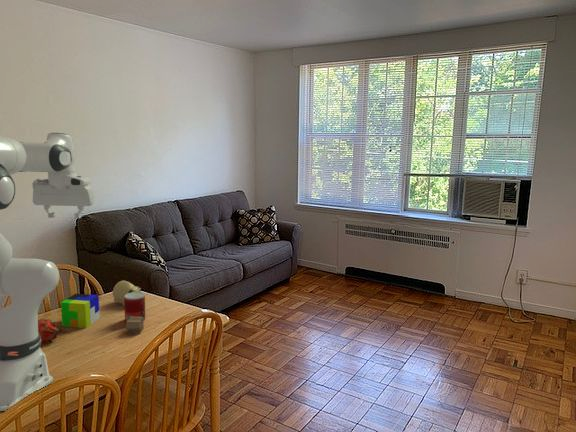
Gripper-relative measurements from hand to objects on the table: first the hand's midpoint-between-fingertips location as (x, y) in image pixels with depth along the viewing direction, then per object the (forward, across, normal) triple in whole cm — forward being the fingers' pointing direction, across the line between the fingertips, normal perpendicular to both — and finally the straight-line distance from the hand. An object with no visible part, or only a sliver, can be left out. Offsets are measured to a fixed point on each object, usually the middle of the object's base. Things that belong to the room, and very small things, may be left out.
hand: (64, 217), depth 157 cm
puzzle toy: (+46, -2, +13) cm, 48 cm away
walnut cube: (+46, +22, +5) cm, 51 cm away
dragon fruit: (+46, -8, -3) cm, 46 cm away
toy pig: (+46, +10, +33) cm, 57 cm away
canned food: (+46, +19, +15) cm, 52 cm away
